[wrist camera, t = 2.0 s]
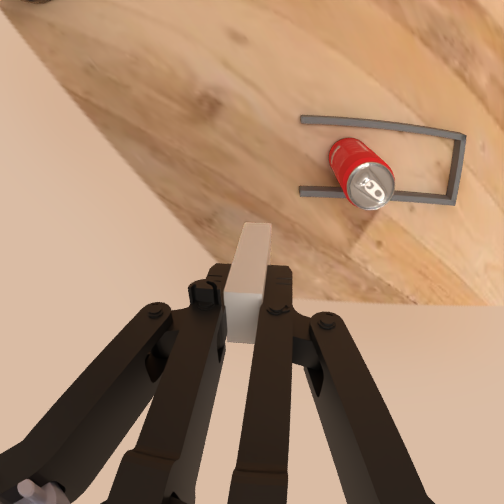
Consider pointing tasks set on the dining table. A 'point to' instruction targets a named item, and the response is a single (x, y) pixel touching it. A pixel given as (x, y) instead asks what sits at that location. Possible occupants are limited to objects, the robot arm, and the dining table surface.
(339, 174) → the beverage can
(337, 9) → the dining table surface
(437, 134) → the grey u-shaped frame
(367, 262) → the dining table surface
